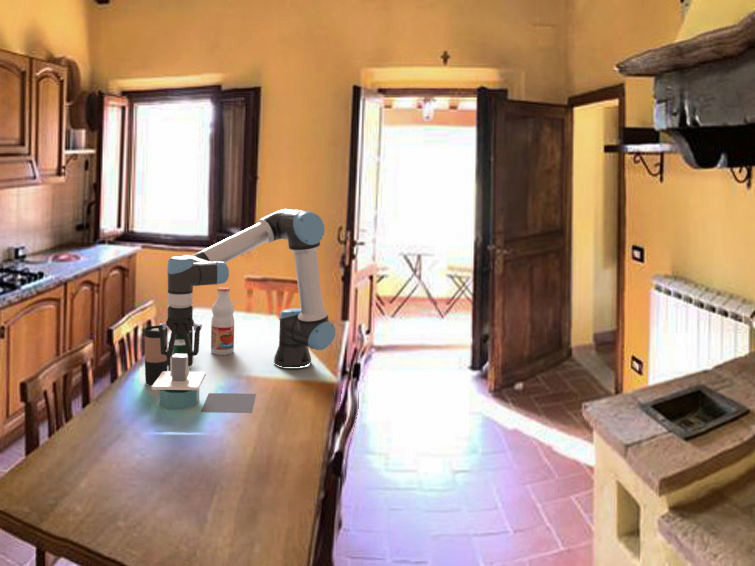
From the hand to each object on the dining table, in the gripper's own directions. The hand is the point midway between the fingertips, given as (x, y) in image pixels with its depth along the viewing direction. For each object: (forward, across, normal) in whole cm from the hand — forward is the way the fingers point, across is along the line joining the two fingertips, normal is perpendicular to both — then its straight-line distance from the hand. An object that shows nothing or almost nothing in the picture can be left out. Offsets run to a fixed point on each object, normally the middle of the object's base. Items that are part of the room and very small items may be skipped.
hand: (179, 375), depth 183 cm
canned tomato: (+10, +7, -33) cm, 35 cm away
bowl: (+10, 0, 0) cm, 10 cm away
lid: (+2, 0, 0) cm, 2 cm away
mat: (+10, -16, 0) cm, 19 cm away
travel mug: (+10, +12, -19) cm, 25 cm away
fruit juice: (+10, -6, -56) cm, 57 cm away
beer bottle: (+10, +9, -50) cm, 52 cm away
